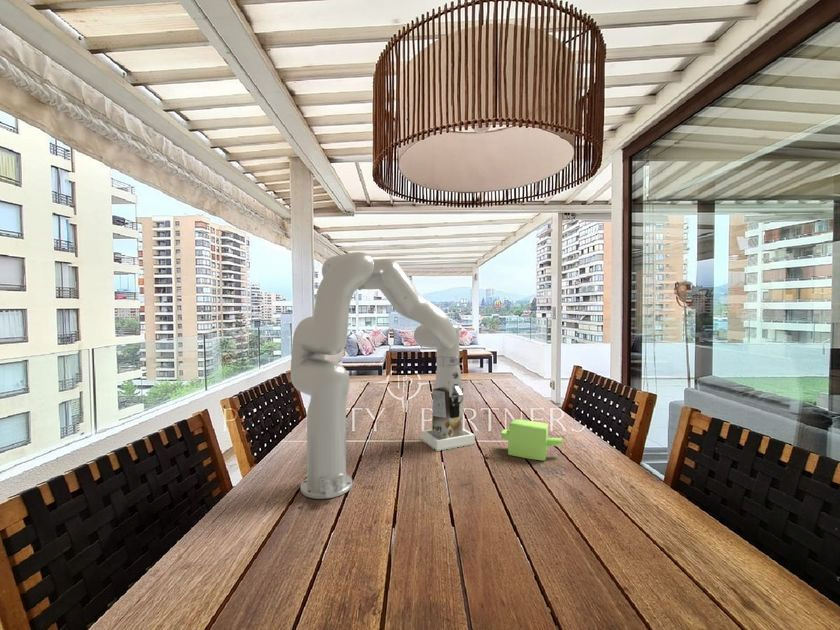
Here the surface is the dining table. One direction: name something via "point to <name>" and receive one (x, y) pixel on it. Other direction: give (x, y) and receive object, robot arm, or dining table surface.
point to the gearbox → (529, 439)
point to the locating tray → (448, 440)
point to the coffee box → (445, 416)
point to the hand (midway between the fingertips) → (447, 413)
